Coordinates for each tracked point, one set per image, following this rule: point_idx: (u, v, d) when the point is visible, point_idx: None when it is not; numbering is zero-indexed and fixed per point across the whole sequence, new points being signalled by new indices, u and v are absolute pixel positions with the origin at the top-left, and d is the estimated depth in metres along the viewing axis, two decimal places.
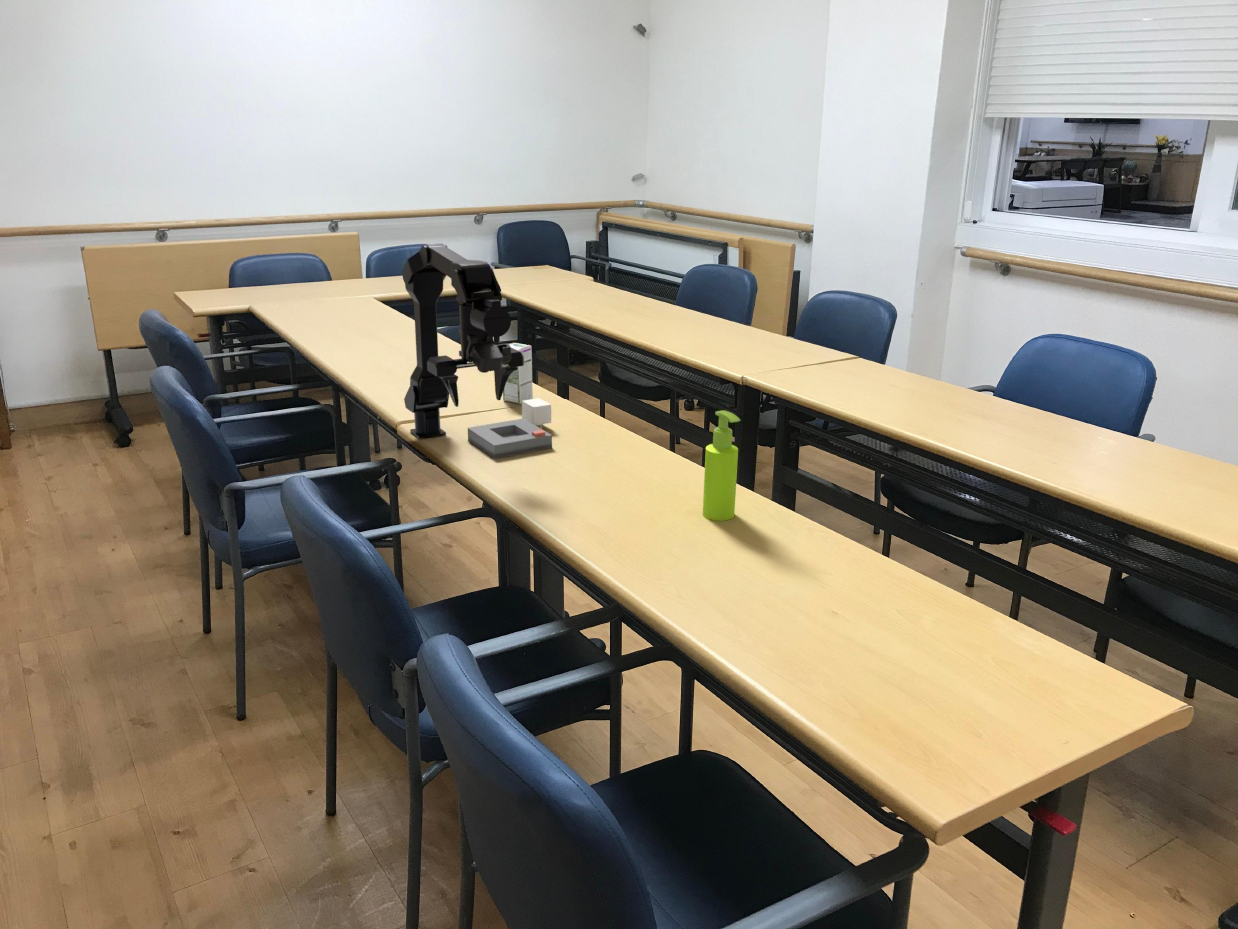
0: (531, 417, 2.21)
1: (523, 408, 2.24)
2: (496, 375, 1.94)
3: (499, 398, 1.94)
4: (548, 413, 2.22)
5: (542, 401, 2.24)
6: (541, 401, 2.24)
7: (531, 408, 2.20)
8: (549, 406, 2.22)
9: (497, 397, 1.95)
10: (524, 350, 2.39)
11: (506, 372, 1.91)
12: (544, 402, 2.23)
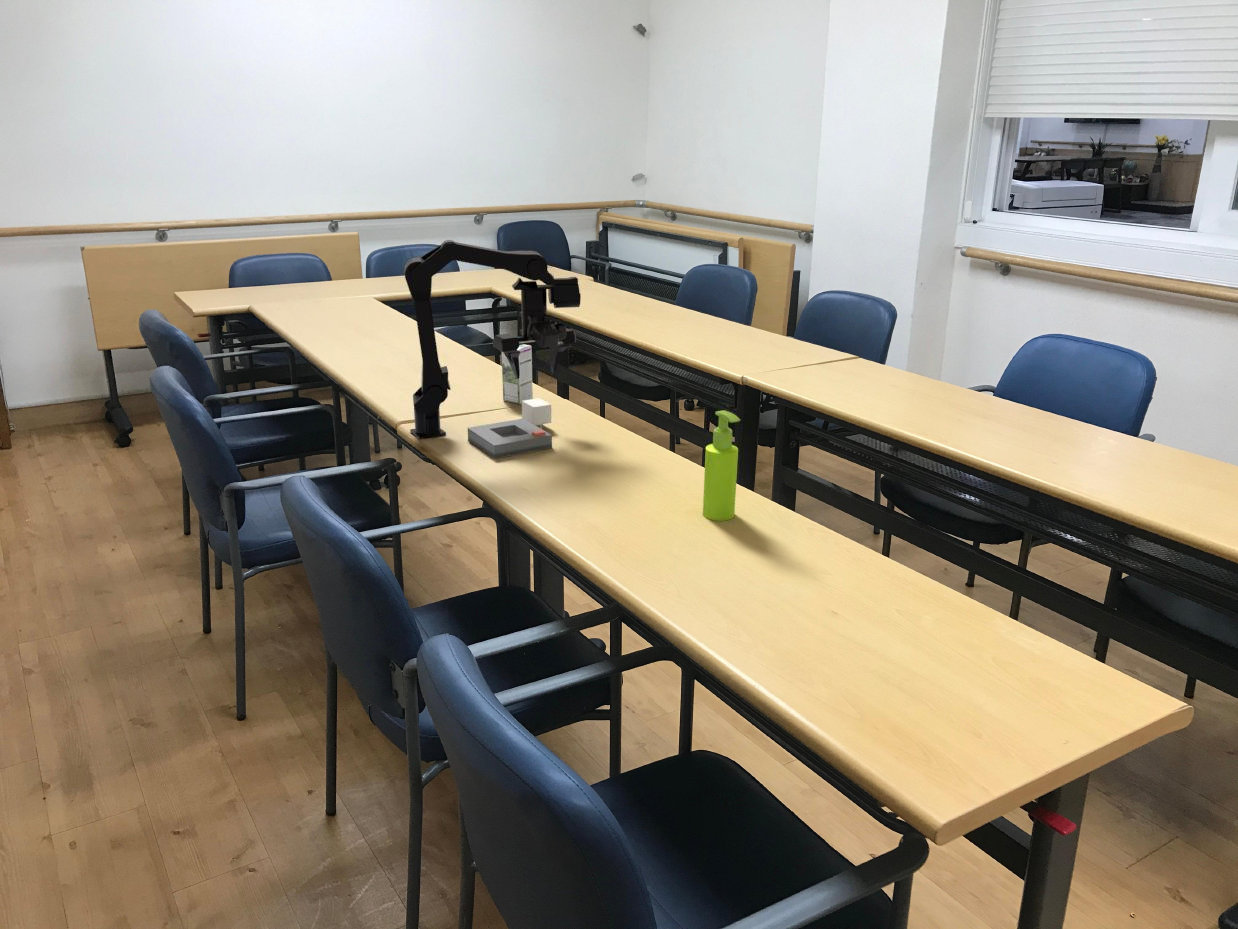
0: (531, 417, 2.21)
1: (523, 408, 2.24)
2: (551, 351, 2.22)
3: (554, 371, 2.22)
4: (548, 413, 2.22)
5: (542, 401, 2.24)
6: (541, 401, 2.24)
7: (531, 408, 2.20)
8: (549, 406, 2.22)
9: (552, 370, 2.22)
10: (524, 350, 2.39)
11: (560, 348, 2.19)
12: (544, 402, 2.23)
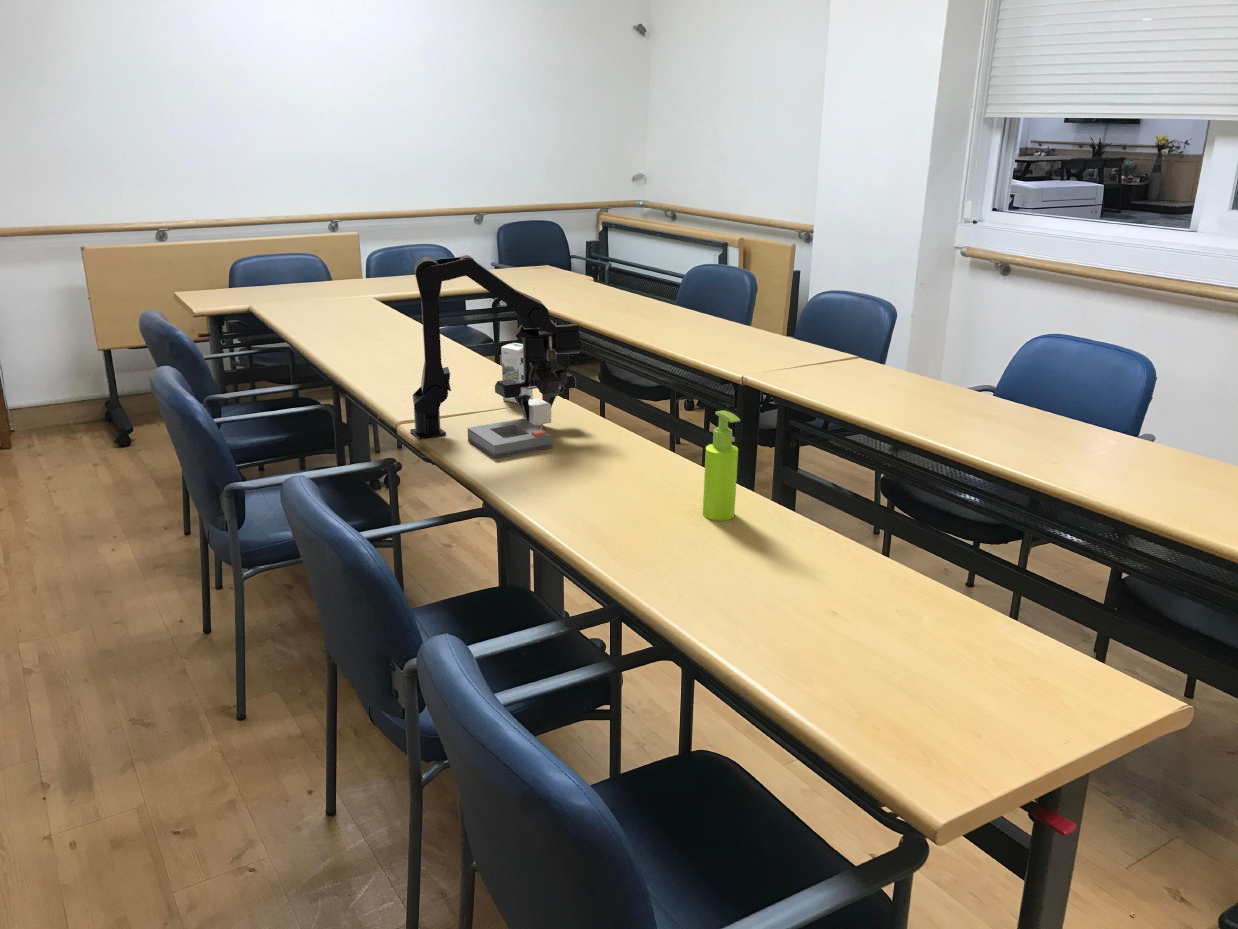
0: (531, 417, 2.21)
1: None
2: (544, 396, 2.25)
3: None
4: (548, 413, 2.22)
5: (542, 401, 2.24)
6: (541, 401, 2.24)
7: (531, 408, 2.20)
8: (549, 406, 2.22)
9: None
10: None
11: (553, 394, 2.22)
12: (544, 402, 2.23)
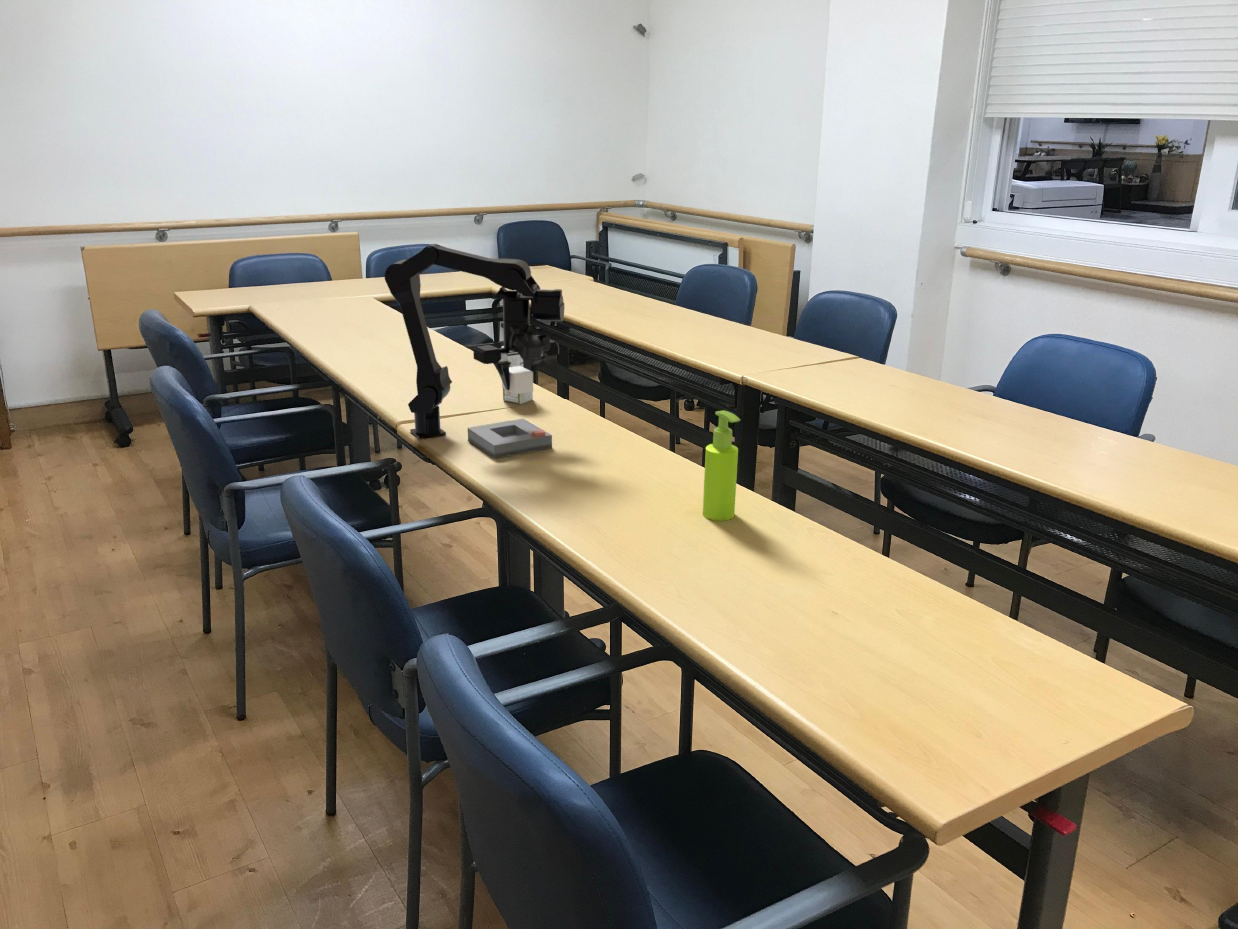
0: (512, 385, 2.10)
1: None
2: (525, 364, 2.14)
3: None
4: (530, 381, 2.11)
5: (523, 369, 2.13)
6: (522, 369, 2.13)
7: (512, 376, 2.09)
8: (531, 374, 2.11)
9: None
10: None
11: (535, 361, 2.11)
12: (525, 370, 2.12)
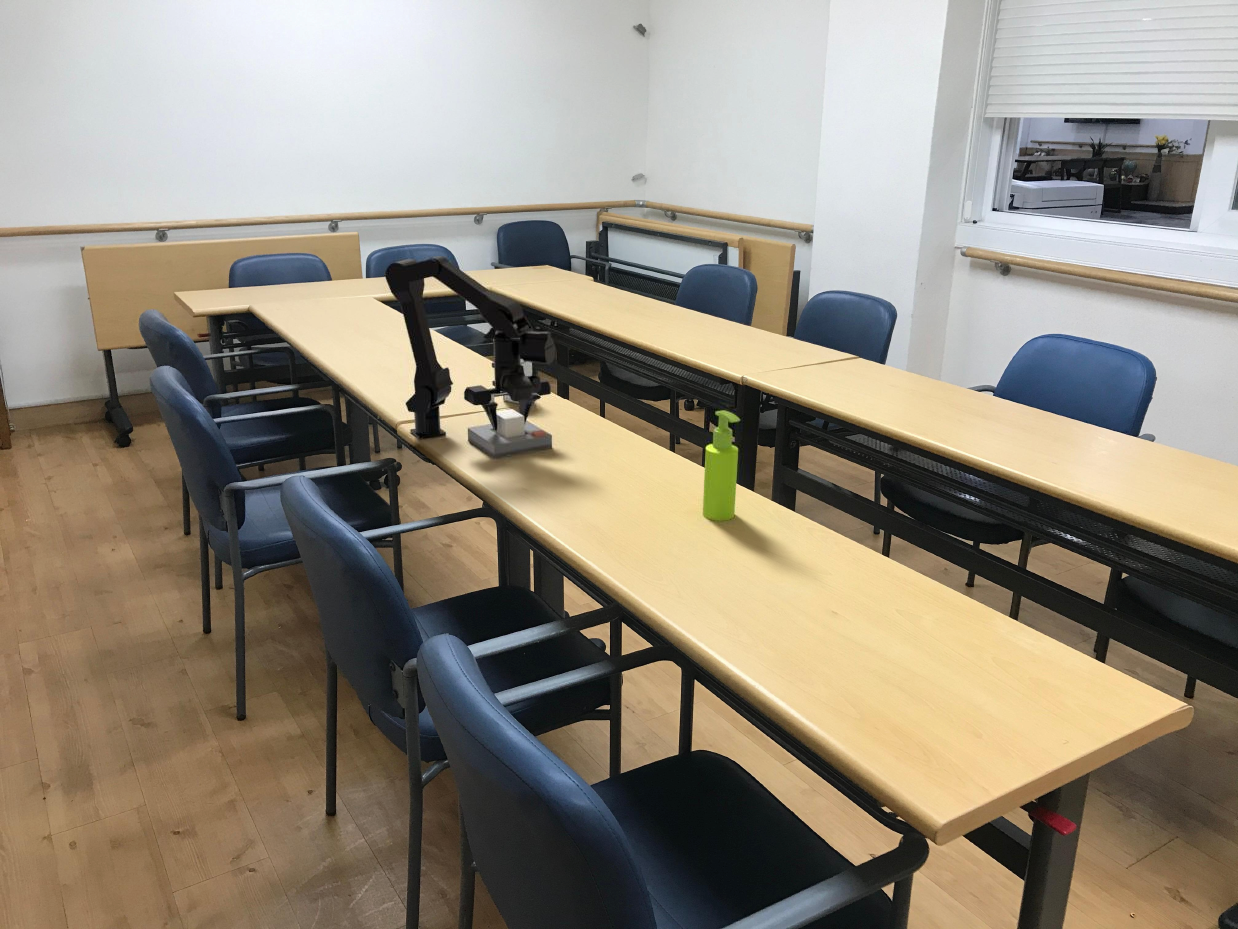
0: (503, 430, 2.09)
1: None
2: (520, 403, 2.13)
3: None
4: (521, 425, 2.10)
5: (515, 412, 2.12)
6: (514, 412, 2.12)
7: (503, 421, 2.08)
8: (522, 418, 2.10)
9: None
10: None
11: (530, 401, 2.10)
12: (517, 414, 2.11)
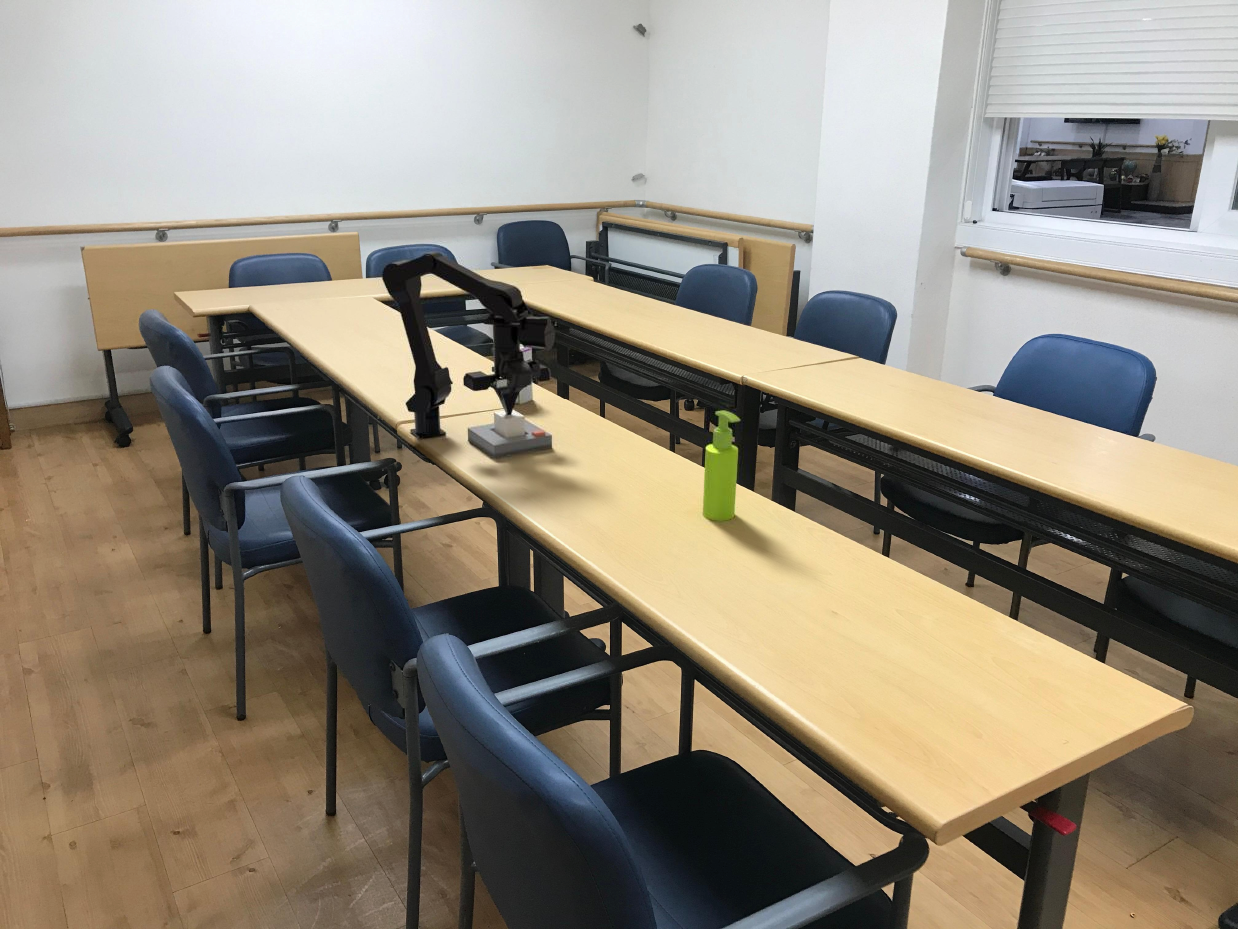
0: (504, 430, 2.09)
1: (495, 420, 2.12)
2: None
3: (510, 412, 2.10)
4: (521, 425, 2.10)
5: (515, 413, 2.12)
6: (514, 413, 2.12)
7: (503, 420, 2.08)
8: (522, 418, 2.10)
9: None
10: (524, 350, 2.39)
11: (517, 389, 2.07)
12: (517, 414, 2.11)
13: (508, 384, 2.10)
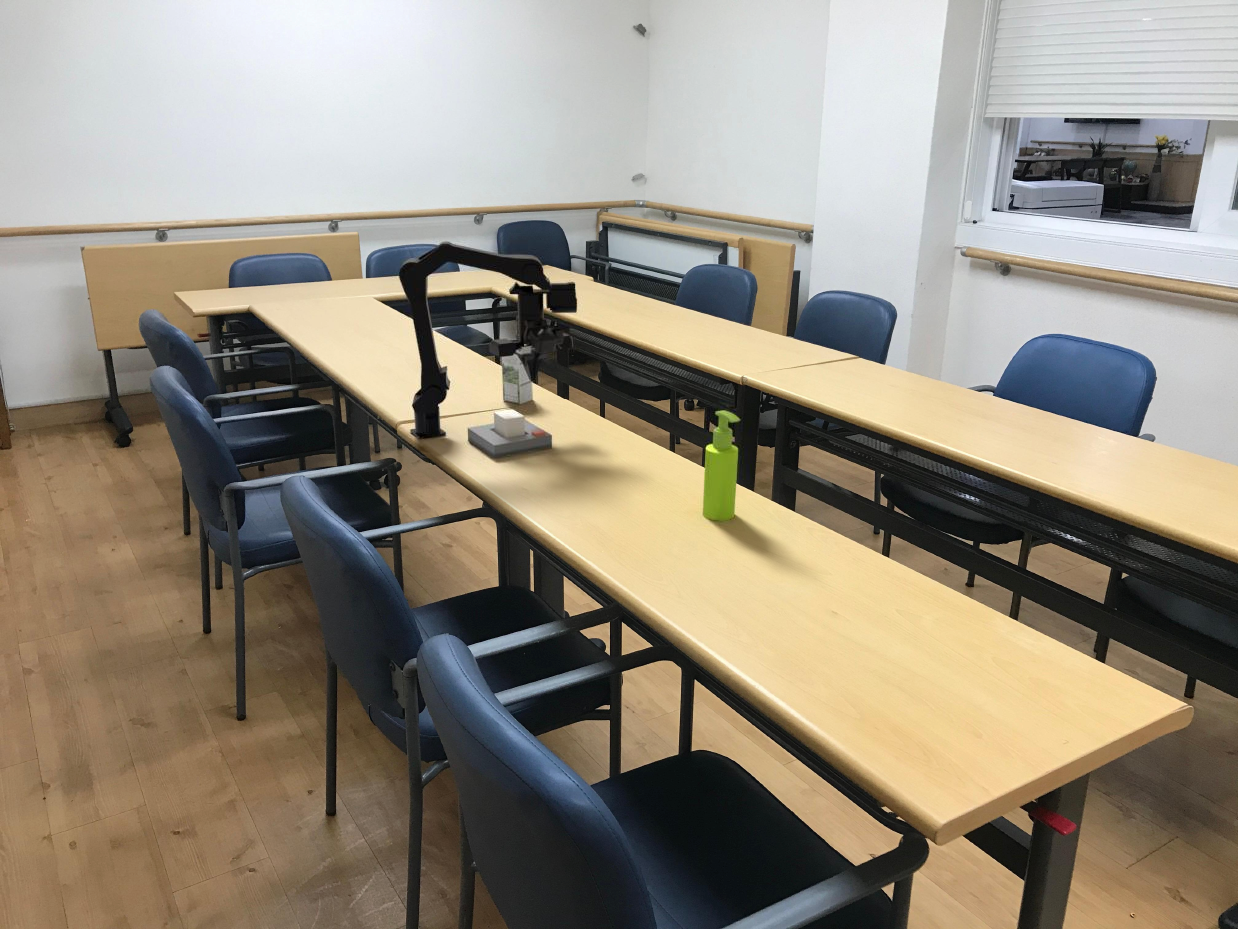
0: (504, 430, 2.09)
1: (495, 420, 2.12)
2: None
3: (534, 379, 2.18)
4: (521, 425, 2.10)
5: (515, 413, 2.12)
6: (514, 413, 2.12)
7: (503, 421, 2.08)
8: (522, 418, 2.10)
9: None
10: None
11: (540, 355, 2.15)
12: (517, 414, 2.11)
13: (532, 351, 2.17)
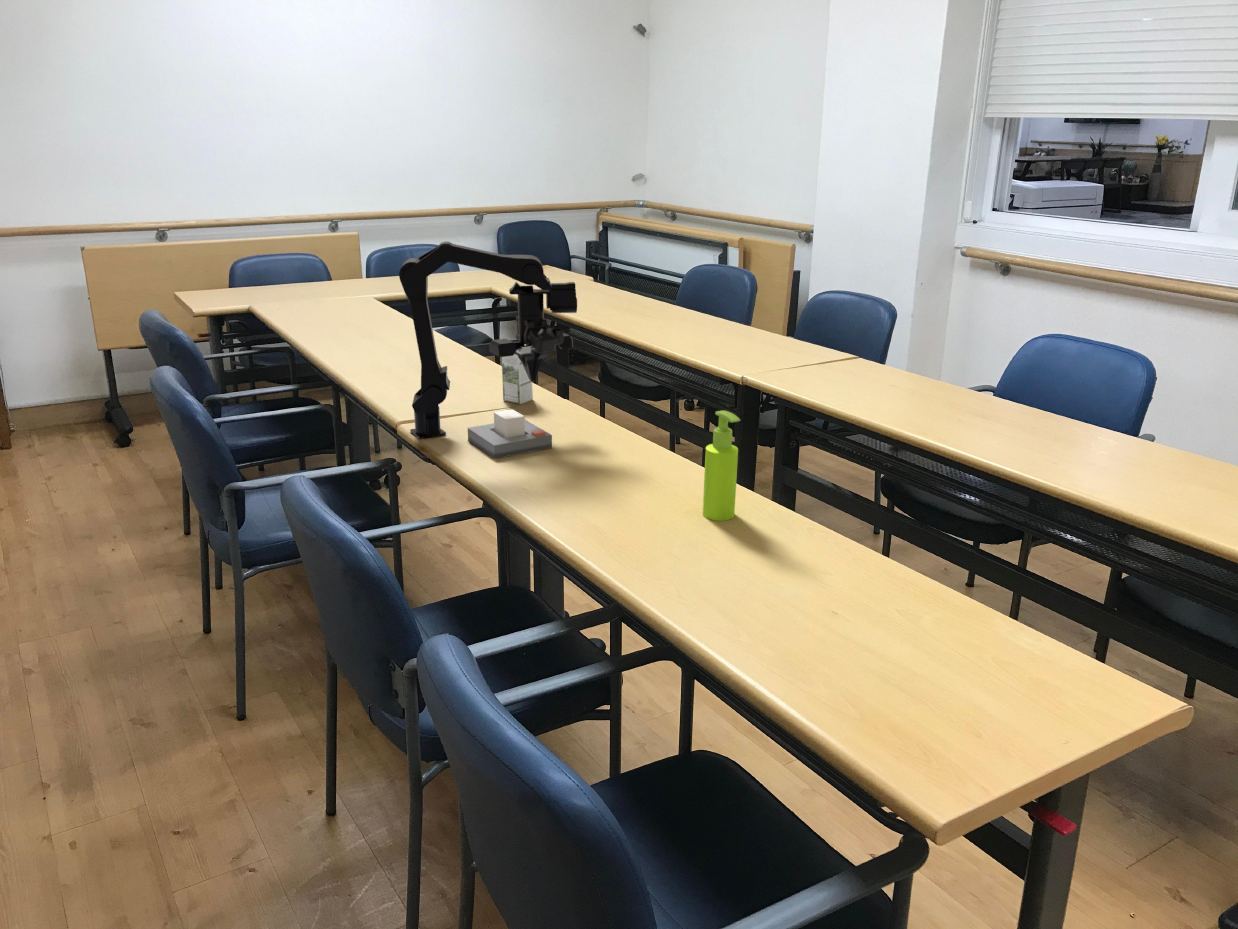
0: (504, 430, 2.09)
1: (495, 420, 2.12)
2: None
3: (534, 379, 2.18)
4: (521, 425, 2.10)
5: (515, 413, 2.12)
6: (514, 413, 2.12)
7: (503, 421, 2.08)
8: (522, 418, 2.10)
9: None
10: None
11: (540, 355, 2.15)
12: (517, 414, 2.11)
13: (532, 351, 2.17)
